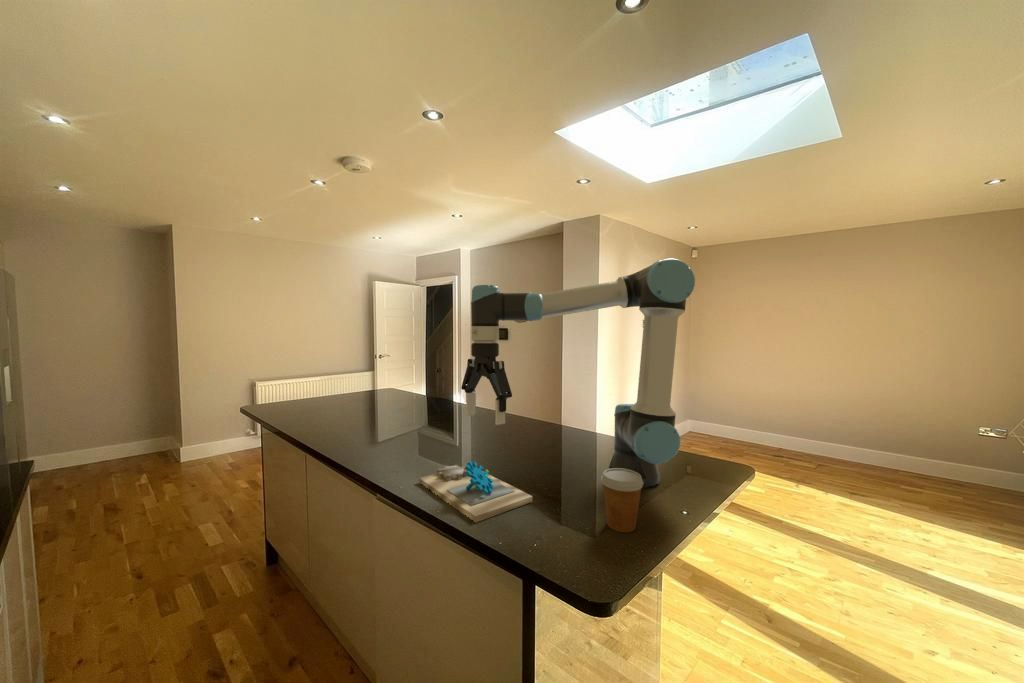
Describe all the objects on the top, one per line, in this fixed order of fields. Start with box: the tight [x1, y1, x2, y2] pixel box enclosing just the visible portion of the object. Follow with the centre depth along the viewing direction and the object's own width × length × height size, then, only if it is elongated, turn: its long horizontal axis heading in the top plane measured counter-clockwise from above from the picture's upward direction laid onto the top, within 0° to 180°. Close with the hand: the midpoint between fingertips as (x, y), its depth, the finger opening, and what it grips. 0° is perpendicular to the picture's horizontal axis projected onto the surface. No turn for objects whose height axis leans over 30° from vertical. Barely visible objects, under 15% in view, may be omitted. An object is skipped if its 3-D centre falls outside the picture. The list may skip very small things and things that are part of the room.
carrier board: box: [418, 464, 533, 523], centre depth 106 cm, size 31×18×3 cm, turn 39°
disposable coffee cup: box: [600, 468, 644, 533], centre depth 88 cm, size 10×10×12 cm
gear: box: [465, 461, 494, 494], centre depth 103 cm, size 11×6×10 cm
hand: (485, 419), depth 104 cm, fingers open, 13 cm apart
